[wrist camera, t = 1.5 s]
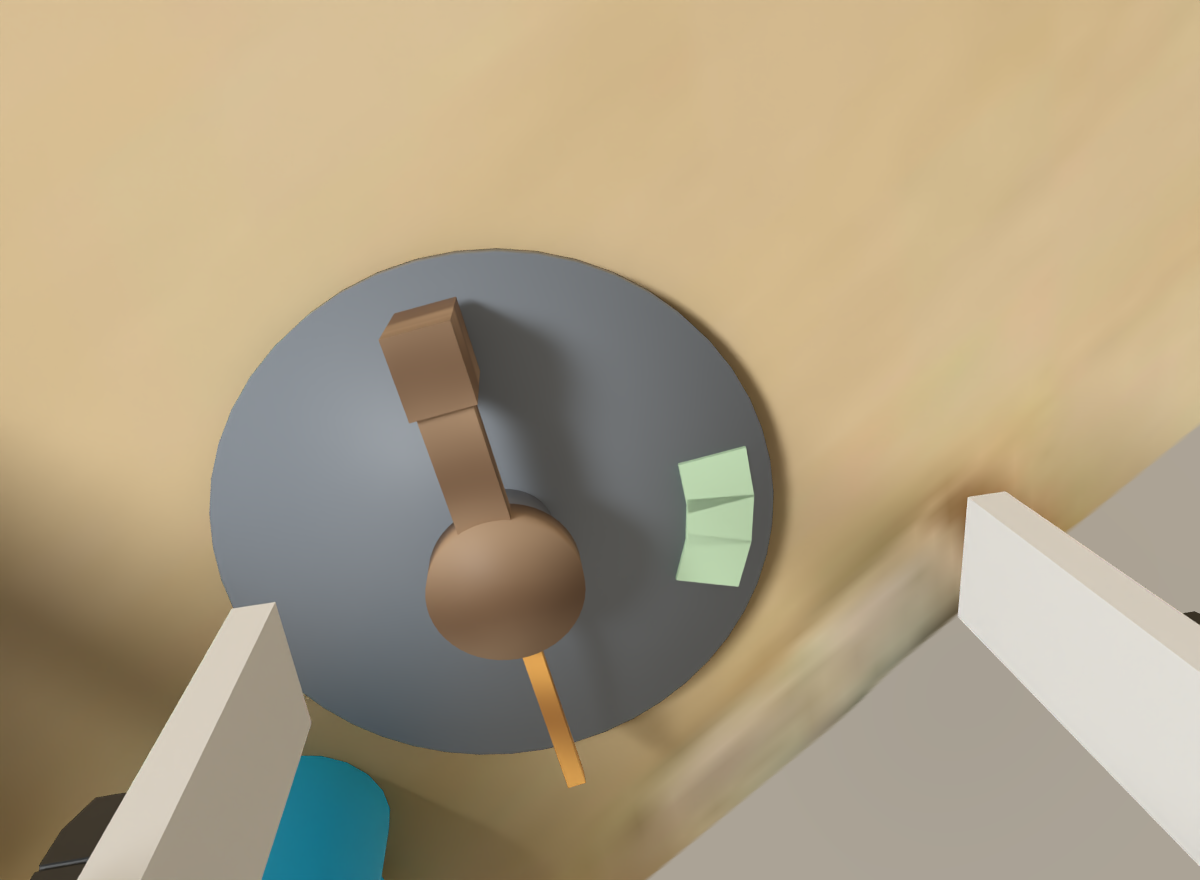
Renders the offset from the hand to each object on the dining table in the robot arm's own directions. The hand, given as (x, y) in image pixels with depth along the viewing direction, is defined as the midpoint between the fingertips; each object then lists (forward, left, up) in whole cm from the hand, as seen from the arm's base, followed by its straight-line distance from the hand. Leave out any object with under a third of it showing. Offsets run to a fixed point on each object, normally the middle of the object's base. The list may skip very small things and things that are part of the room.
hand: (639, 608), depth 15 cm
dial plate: (+2, -8, -19) cm, 21 cm away
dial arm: (+2, -8, -17) cm, 19 cm away
